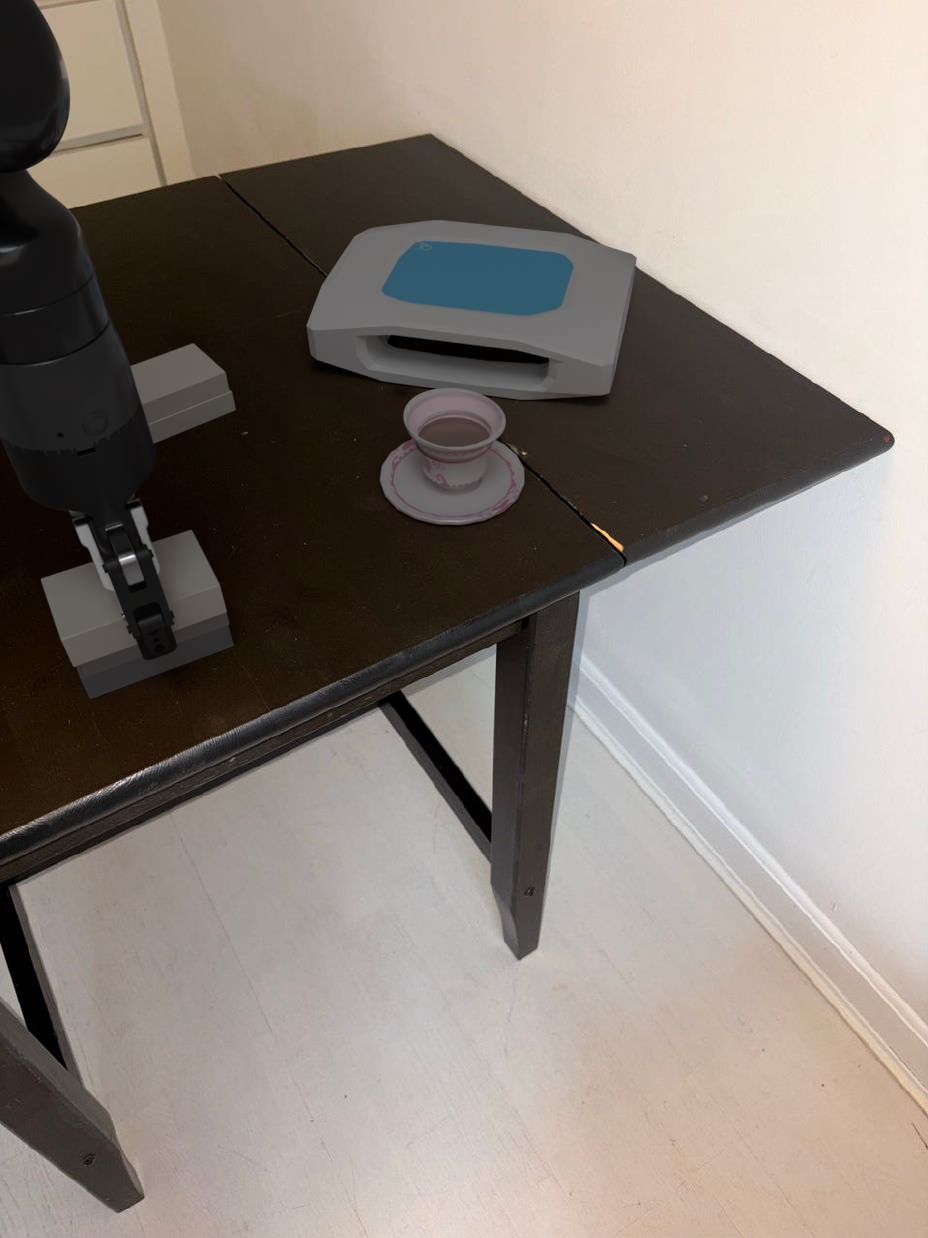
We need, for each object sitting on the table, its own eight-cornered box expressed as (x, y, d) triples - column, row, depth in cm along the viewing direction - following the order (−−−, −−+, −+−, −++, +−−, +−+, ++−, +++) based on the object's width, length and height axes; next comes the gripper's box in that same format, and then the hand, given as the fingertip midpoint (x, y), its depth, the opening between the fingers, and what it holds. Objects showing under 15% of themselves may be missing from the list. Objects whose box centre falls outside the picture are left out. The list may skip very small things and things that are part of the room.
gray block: (90, 699, 63) (70, 657, 60) (76, 659, 66) (56, 616, 62) (235, 645, 66) (223, 602, 63) (217, 609, 69) (205, 565, 66)
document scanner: (606, 412, 85) (614, 351, 81) (310, 373, 90) (301, 312, 85) (631, 296, 99) (639, 238, 95) (374, 267, 104) (369, 210, 99)
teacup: (554, 481, 79) (560, 419, 74) (448, 549, 73) (447, 486, 69) (456, 419, 85) (455, 358, 80) (350, 477, 79) (343, 415, 75)
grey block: (130, 453, 81) (118, 414, 78) (101, 420, 85) (88, 381, 82) (236, 410, 86) (228, 371, 83) (204, 380, 89) (195, 342, 86)
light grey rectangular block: (73, 667, 59) (60, 640, 58) (53, 606, 63) (40, 578, 61) (227, 612, 63) (220, 584, 61) (199, 557, 66) (191, 529, 64)
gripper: (-29, 356, 54) (61, 562, 66) (19, 501, 46) (113, 707, 58) (103, 323, 56) (167, 528, 68) (173, 454, 48) (232, 662, 60)
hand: (142, 609), depth 63 cm, fingers open, 8 cm apart
